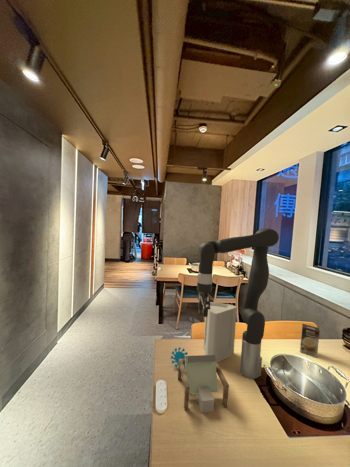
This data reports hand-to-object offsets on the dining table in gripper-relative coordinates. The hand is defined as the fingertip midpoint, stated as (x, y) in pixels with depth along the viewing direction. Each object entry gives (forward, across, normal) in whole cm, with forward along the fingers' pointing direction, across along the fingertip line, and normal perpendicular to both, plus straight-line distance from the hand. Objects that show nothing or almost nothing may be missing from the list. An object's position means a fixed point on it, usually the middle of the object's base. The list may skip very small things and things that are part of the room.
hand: (202, 313), depth 107 cm
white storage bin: (+30, +15, -13) cm, 36 cm away
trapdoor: (+23, -12, +3) cm, 26 cm away
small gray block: (+28, -20, +3) cm, 35 cm away
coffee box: (+30, +12, -73) cm, 80 cm away
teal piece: (+30, +6, +9) cm, 32 cm away
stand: (+30, -13, +3) cm, 33 cm away
